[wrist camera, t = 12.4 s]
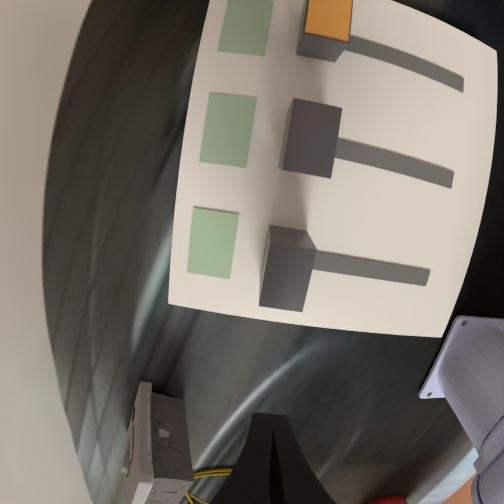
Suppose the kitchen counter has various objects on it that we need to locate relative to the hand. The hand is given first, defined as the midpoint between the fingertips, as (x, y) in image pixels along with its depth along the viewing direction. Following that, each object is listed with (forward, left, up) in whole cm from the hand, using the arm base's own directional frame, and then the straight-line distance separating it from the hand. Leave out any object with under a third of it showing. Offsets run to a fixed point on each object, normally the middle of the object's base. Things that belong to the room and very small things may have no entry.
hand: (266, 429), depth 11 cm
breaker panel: (-3, -11, -9) cm, 15 cm away
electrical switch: (+7, +12, -10) cm, 17 cm away
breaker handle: (0, -17, -7) cm, 18 cm away
